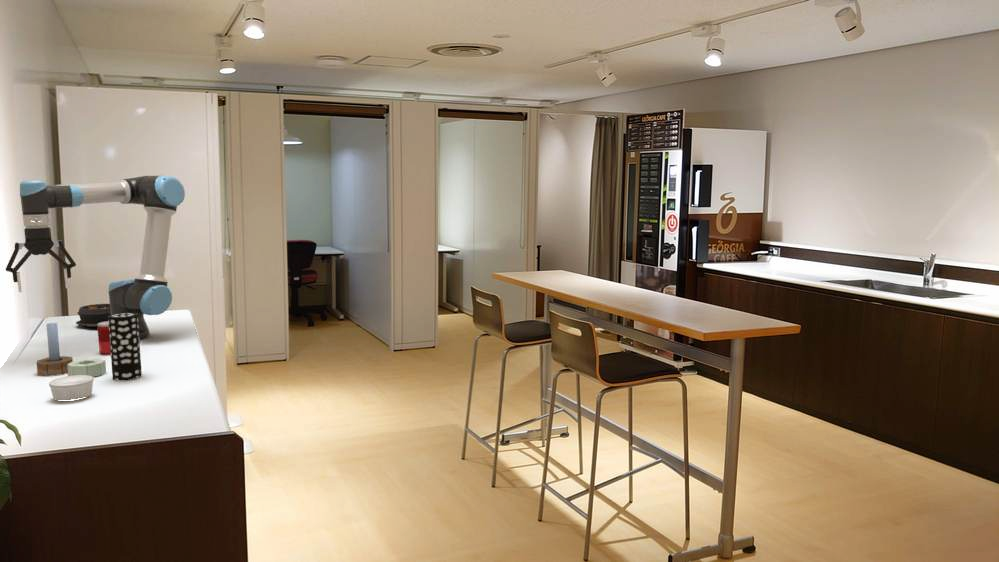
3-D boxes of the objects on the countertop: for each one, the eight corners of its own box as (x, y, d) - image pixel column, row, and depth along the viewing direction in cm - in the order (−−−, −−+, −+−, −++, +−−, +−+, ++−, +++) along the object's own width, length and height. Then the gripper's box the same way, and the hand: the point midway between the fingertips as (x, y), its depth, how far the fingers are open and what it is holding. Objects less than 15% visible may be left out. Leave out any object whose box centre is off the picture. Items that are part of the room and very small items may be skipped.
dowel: (61, 370, 246) (57, 322, 244) (61, 372, 244) (57, 324, 241) (50, 371, 245) (46, 323, 243) (50, 373, 242) (46, 324, 240)
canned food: (113, 355, 267) (111, 325, 265) (94, 354, 269) (92, 324, 267) (128, 350, 274) (126, 321, 273) (109, 349, 276) (107, 320, 274)
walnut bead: (73, 366, 251) (72, 355, 250) (73, 373, 242) (72, 361, 242) (38, 370, 246) (37, 358, 246) (37, 377, 237) (36, 365, 237)
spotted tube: (147, 375, 240) (143, 313, 237) (127, 381, 232) (122, 318, 230) (127, 372, 243) (123, 312, 240) (106, 379, 235) (101, 316, 232)
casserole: (72, 323, 328) (70, 304, 327) (119, 318, 339) (117, 300, 338) (80, 332, 308) (78, 312, 307) (130, 327, 319) (128, 308, 318)
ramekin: (63, 405, 208) (62, 387, 207) (42, 399, 214) (40, 381, 213) (102, 395, 217) (101, 378, 217) (81, 390, 223) (80, 373, 222)
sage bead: (96, 369, 248) (95, 357, 247) (110, 373, 242) (109, 361, 241) (64, 375, 240) (63, 363, 239) (77, 380, 234) (76, 367, 233)
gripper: (-9, 229, 240) (-1, 295, 244) (80, 225, 253) (86, 287, 257) (-8, 228, 247) (0, 291, 250) (79, 224, 260) (85, 284, 263)
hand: (44, 289), depth 253 cm, fingers open, 13 cm apart
